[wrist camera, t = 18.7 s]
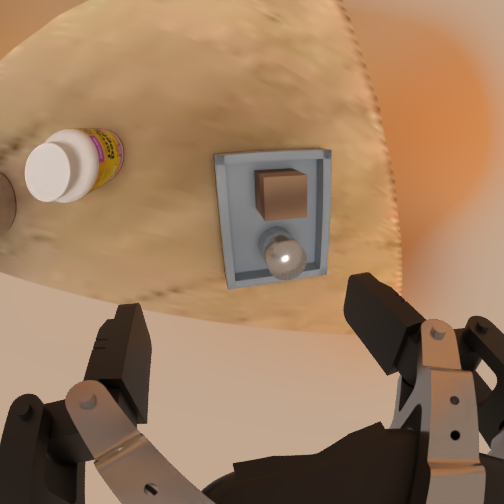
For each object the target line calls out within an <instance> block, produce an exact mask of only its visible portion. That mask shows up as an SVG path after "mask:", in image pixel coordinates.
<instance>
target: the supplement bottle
mask: <svg viewBox="0 0 504 504" xmlns="http://www.w3.org/2000/svg"><path fill="white" fill-rule="evenodd" d="M122 162H123V147H122V144H121V142H120V140H119V138H118V137H117V136H116V135H115V134H114V133H112V132H111V131H109V130H106V129H99V128H91V129H65V130H61V131H58V132H56V133H54V134H53V135H51V136H50V137H49V138H48V139H47V140H46V141H45V142H44V143H43V144H41V145H39V146H37V147H36V148H35V149H34V150H33V151H32V152H31V154H30V155H29V157H28V159H27V162H26V166H25V181H26V185H27V187H28V189H29V191H30V193H31V194H32V195H33V196H34V197H35V198H36V199H38V200H40V201H43V202H51V201H56V202H60V203H69V202H74V201H76V200H78V199H80V198H82V197H83V196H85V195H86V194H88V193H90V192H91V191H93V190H95V189H96V188H98V187H100V186H101V185H103V184H105V183H106V182H108V181H110V180H111V179H112V178H113V177H114V176H115V175H116V174H117V173H118V171H119V169H120V167H121V165H122Z"/></svg>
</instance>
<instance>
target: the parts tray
mask: <svg viewBox="0 0 504 504" xmlns="http://www.w3.org/2000/svg"><path fill="white" fill-rule="evenodd" d="M213 157H214V169H215V180H216V191H217V201H218V212H219V221H220V231H221V241H222V250H223V259H224V268H225V276H226V282H227V287H228V289H235V288H242V287H249V286H256V285H263V284H270V283H276V282H283V281H289V280H279V279H277V278H275V277H274V276H272V274H271V273H270V271H269V269H268V267H267V265H266V263H265V261H264V259H263V257H262V255H261V253H260V250H259V247H258V241H259V238H260V236H261V234H262V233H263V232H264V231H265V230H267V229H268V228H271V227H275V226H279V227H283V228H285V229H287V230H288V231H289V232H290V234H291V235H292V236H293V237H294V238H295V240H296V241H297V242H298V243H299V244H300V246H301V247H302V248H303V249H304V251H305V252H306V255H307V264H306V267H305V269H304V271H303V272H302V273H301V274H300V275H299V276H297V277H296V278H294V279H291V280H296V279H302V278H308V277H315V276H321V275H327V262H328V248H329V230H330V207H331V150H327V149H322V148H297V149H271V150H254V151H240V152H228V153H218V154H213ZM283 168H293V169H295V170H297V171H300V172H302V173H304V174H306V175H307V217H306V218H295V219H285V220H274V221H265V220H264V219H263V218H262V216H261V215H260V213H259V212H258V210H257V209H256V201H255V180H254V170H266V169H283Z"/></svg>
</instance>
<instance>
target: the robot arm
mask: <svg viewBox="0 0 504 504" xmlns="http://www.w3.org/2000/svg"><path fill="white" fill-rule="evenodd" d="M15 211H16V202H15V196H14V192H13V189H12V187H11V184H10V183H9V181H8V179H7V178H6V177H5V176H4V175H3V174H1V173H0V235H1V234H3V233H4V232H6V231H7V230H8V229H9V228H10V227H11V225H12V223H13V221H14V217H15ZM344 316H345V319H346V321H347V322H348V324H349V325H350V326H351V328H352V329H353V330H354V332H355V333H356V334H357V336H358V337H359V338H360V339H361V341H362V342H363V344H365V346H366V348H367V349H368V350H369V352H370V353H371V354H372V356H373V357H374V358H375V359H376V361H377V362H378V364H379V365H380V366H381V368H382V369H383V371H384V372H385V373H386V375H387V376H388V375H390V374H393V373H395V372H398V371H399V373H400V376H399V379H398V386H397V395H396V405H395V411H394V418H393V421H392V424H391V426H390V428H389V429H385V428H384V426H383V425H382V423H381V422H378V423H375V424H373V425H371V426H368V427H366V428H363V429H361V430H358V431H355V432H353V433H350V434H348V435H347V436H345V437H344V438H342V439H341V440H339V441H337V442H336V443H335V444H333V445H331V446H329V447H328V448H326V449H324V450H323V451H321V452H319V453H317V454H313V455H295V456H271V457H266V458H261V459H255V460H250V461H244V462H238V463H233V467H234V472H232V473H229V474H227V475H225V476H223V477H221V478H219V479H217V480H215V481H214V482H212V483H211V484H209V485H208V486H207V487H206V488H204V489H203V490H202V491H200V490H199V489H197V488H196V487H195V486H194V485H193V484H192V483H191V482H189V481H188V480H187V479H186V478H185V477H184V476H183V475H182V474H181V473H180V472H179V471H178V470H177V469H176V468H175V467H174V466H172V464H171V463H169V461H168V460H167V459H166V458H165V457H164V456H163V455H162V454H161V453H160V452H159V451H158V450H157V449H156V448H155V447H154V446H153V445H152V444H151V442H150V441H149V440H148V439H147V438H146V437H145V436H144V435H143V434H142V433H140V432H139V431H138V429H137V424H146V423H147V413H148V412H147V411H148V392H149V377H150V364H151V353H152V347H151V340H150V335H149V332H148V329H147V326H146V323H145V319H144V316H143V312H142V309H141V306H140V304H139V303H134V304H122V305H119V306H118V308H117V311H116V315H115V318H114V319H108V320H107V321H106V322H105V323H104V324H103V325H102V326H101V327H100V329H99V331H98V334H97V337H96V341H95V343H94V347H93V350H92V353H91V356H90V359H89V363H88V366H87V370H86V373H85V377H84V380H83V381H82V382H79V383H77V384H76V385H74V386H73V387H72V388H71V389H70V390H69V392H68V393H67V396H66V399H64V400H60V401H56V402H52V403H47V404H43V402H42V401H41V400H40V399H39V398H38V397H37V396H36V395H33V394H24V395H21V396H19V397H18V398H17V399H16V400H15V401H14V402H13V403H12V405H11V406H10V409H9V412H8V416H7V419H6V423H5V427H4V431H3V434H2V439H1V443H0V504H85V461H90V460H94V459H95V460H96V461H95V462H94V464H95V467H96V469H97V470H98V472H99V473H100V475H101V476H102V478H103V479H104V481H105V482H106V483H107V485H108V486H109V488H110V489H111V490H112V492H113V493H114V494H115V495H116V497H117V498H118V499H119V501H120V502H121V503H122V504H504V334H503V333H502V332H501V331H500V330H499V329H498V328H496V326H495V325H494V324H493V323H492V322H490V321H489V320H488V319H486V318H484V317H481V316H472V317H470V318H469V320H468V322H467V324H466V326H465V328H462V329H453V328H452V327H451V326H450V325H449V324H447V323H445V322H444V321H441V320H437V319H429V320H426V319H424V317H423V316H422V315H420V314H419V313H418V312H417V311H416V310H415V309H414V308H413V307H412V306H411V305H410V304H409V303H408V302H405V300H404V299H403V298H402V297H401V296H399V294H398V293H397V292H396V291H395V290H393V289H392V288H391V287H389V286H388V285H386V284H383V283H381V282H379V281H378V280H377V279H376V278H375V277H374V276H373V275H372V274H370V273H369V272H366V273H360V274H354V275H351V276H350V277H349V280H348V285H347V291H346V297H345V303H344ZM482 359H483V360H484V362H485V363H486V364H487V365H488V366H489V367H490V368H491V370H492V371H493V372H494V373H495V374H496V377H497V385H496V387H495V388H494V390H493V391H492V390H491V389H490V388H489V387H488V385H487V384H486V383H485V382H484V380H483V379H482V378H481V377H480V376H479V374H478V373H477V372H476V371H475V370H476V369H477V367H478V365H479V364H480V362H481V360H482ZM478 430H479V431H478ZM479 432H480V433H481V435H482V436H483V438H484V439H485V441H486V442H487V444H488V445H489V447H490V449H491V451H490V452H489V453H488V454H487V455H486V454H482V453H479Z"/></svg>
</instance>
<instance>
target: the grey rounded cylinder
mask: <svg viewBox="0 0 504 504" xmlns="http://www.w3.org/2000/svg"><path fill="white" fill-rule="evenodd" d="M258 247H259V250H260V253H261V255H262V257H263V259H264V261H265V263H266V265H267V267H268V269H269V271H270V273H271V274H272V276H274V277H275V278H277V279H279V280H291V279H294V278H296V277H297V276H299V275H300V274H301V273H302V272H303V271H304V269H305V267H306V264H307V255H306V252H305V251H304V249H303V248H302V247H301V246H300V244H299V243H298V242H297V241H296V240H295V238H294V237H293V236H292V235H291V234H290V232H289V231H288V230H287V229H285V228H283V227H279V226H275V227H271V228H268V229H267V230H265V231H264V232H263V233H262V234H261V236H260V238H259V241H258Z"/></svg>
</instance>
